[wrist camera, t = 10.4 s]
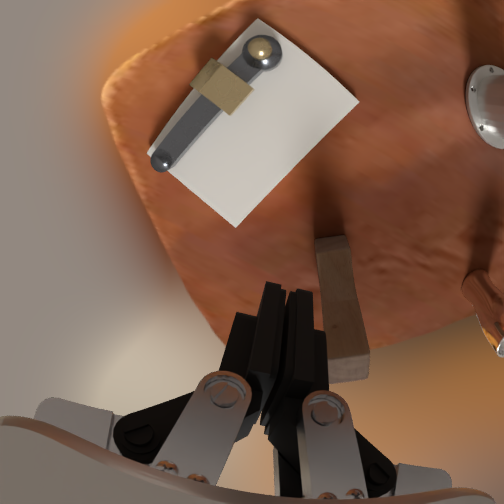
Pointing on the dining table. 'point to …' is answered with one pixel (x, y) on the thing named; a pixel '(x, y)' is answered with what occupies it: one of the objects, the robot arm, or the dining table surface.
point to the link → (209, 108)
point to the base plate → (260, 130)
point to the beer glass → (487, 306)
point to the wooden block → (341, 312)
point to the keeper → (228, 79)
